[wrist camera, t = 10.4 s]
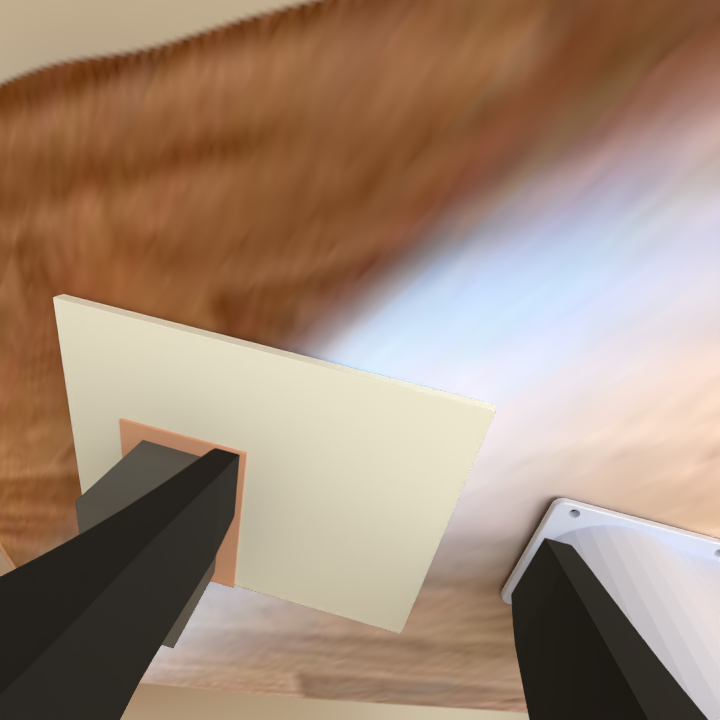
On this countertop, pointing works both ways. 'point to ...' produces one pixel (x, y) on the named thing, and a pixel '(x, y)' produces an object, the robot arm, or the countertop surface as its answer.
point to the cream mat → (281, 453)
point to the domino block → (130, 483)
